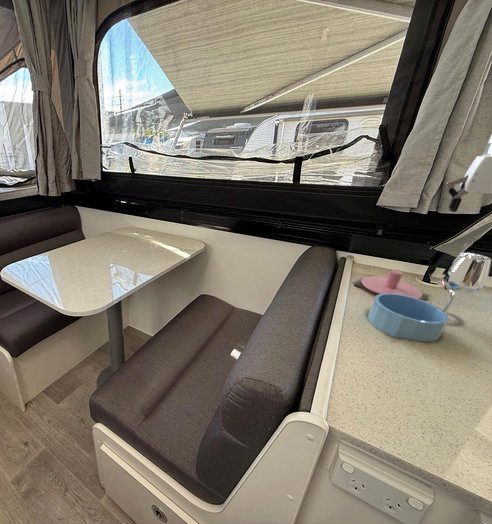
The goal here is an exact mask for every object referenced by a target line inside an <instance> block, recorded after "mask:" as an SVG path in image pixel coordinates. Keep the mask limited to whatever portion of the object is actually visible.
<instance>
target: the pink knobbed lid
mask: <svg viewBox="0 0 492 524" xmlns="http://www.w3.org/2000/svg"><path fill="white" fill-rule="evenodd" d="M403 274H404V273H403V272H402V271H401V270H396V269H390V271H389V273H388V276H387V277H386V276H377V275H367V276H364V277H362V278H361V280H360V281H361V283H362V284H363V285H364V286H365V287H366V288H368V289H369V290H371V291H373V292H375V293H378V294H381V293H394V294H402V295H406V296H410V297H414V298H417V299H420V298H421V297H422V294H423V293H422V291H421V289H418V288H417V287H415V286H413V285H412V284H410V283H407V282H405V281H402V280H401V279H402V277H403V276H404V275H403Z"/></svg>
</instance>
